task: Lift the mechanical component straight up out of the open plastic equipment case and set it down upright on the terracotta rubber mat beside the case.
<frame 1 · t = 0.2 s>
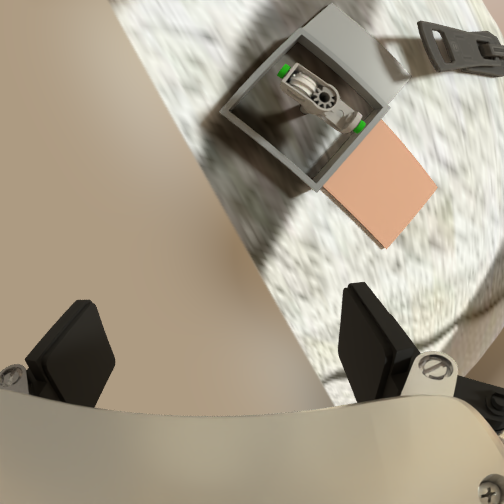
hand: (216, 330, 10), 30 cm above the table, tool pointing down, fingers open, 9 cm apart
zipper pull: (458, 53, 31), on the table
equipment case: (305, 108, 35), on the table
rubber mat: (384, 185, 39), on the table
mechanical component: (305, 108, 35), resting in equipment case
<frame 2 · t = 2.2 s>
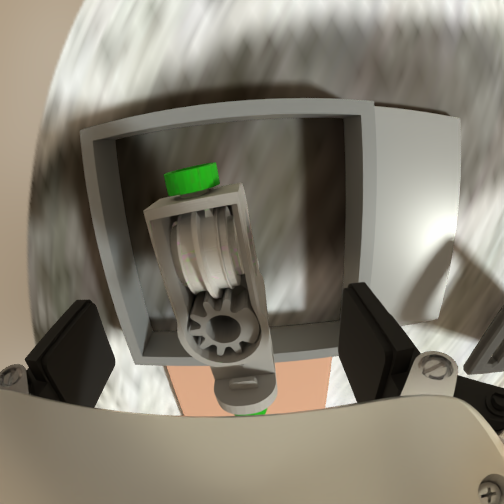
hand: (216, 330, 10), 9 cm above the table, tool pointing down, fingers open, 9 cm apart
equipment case: (235, 236, 19), on the table
rubber mat: (252, 402, 24), on the table
mechanical component: (235, 235, 19), resting in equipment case
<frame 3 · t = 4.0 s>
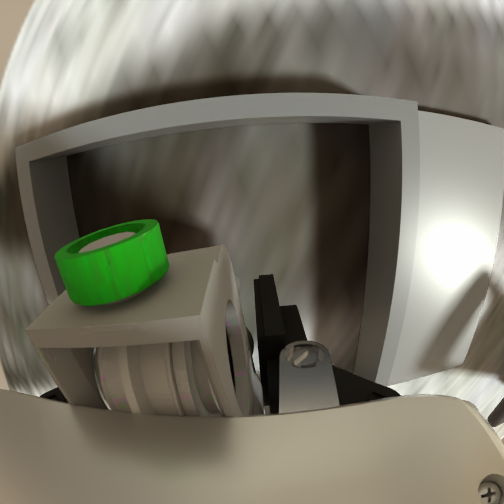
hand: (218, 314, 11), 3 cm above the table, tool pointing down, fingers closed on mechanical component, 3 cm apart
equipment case: (223, 283, 14), on the table
mechanical component: (223, 282, 14), resting in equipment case, touching gripper
when the fingers open (3 cm above the table, at t = 11.2 s): mechanical component stays where it is, resting on rubber mat.
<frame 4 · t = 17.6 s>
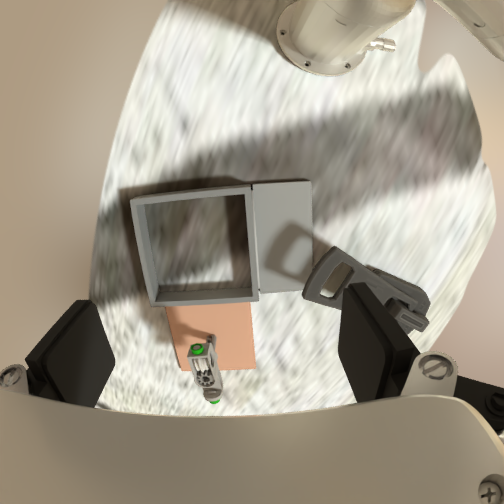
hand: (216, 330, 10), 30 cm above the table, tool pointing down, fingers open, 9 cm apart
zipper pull: (368, 287, 44), on the table
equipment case: (198, 245, 41), on the table
rubber mat: (212, 336, 46), on the table
mechanical component: (211, 337, 46), resting on rubber mat
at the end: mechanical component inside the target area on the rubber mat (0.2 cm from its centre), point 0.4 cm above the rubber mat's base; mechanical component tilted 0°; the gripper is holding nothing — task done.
